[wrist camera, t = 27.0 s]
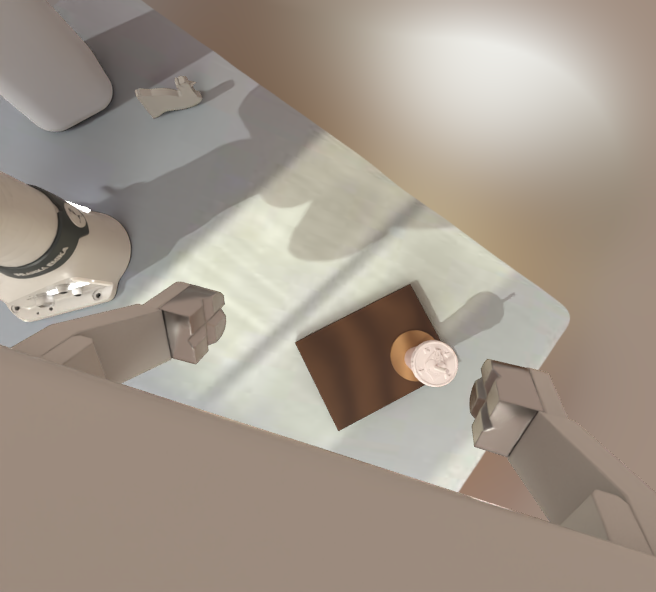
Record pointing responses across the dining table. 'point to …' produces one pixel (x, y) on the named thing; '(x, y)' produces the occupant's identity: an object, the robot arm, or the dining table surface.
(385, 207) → the dining table surface
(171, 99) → the duck shaped cutout
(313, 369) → the serving board
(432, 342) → the smoothie
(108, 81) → the plastic bottle
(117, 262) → the robot arm
